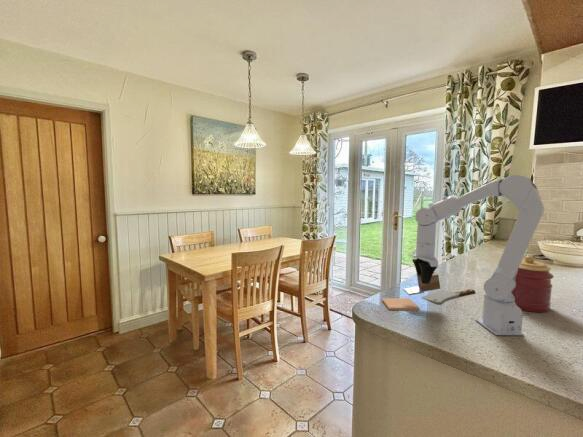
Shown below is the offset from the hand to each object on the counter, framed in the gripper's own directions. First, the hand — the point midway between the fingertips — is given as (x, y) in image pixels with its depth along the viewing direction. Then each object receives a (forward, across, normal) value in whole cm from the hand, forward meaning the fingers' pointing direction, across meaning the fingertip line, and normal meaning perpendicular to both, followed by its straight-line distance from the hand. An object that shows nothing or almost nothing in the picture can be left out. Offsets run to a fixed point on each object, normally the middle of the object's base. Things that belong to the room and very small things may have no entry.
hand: (423, 281), depth 99 cm
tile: (+8, 0, -8) cm, 11 cm away
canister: (+9, -1, +36) cm, 37 cm away
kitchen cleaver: (+9, -10, +14) cm, 20 cm away
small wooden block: (+3, 0, -1) cm, 3 cm away
